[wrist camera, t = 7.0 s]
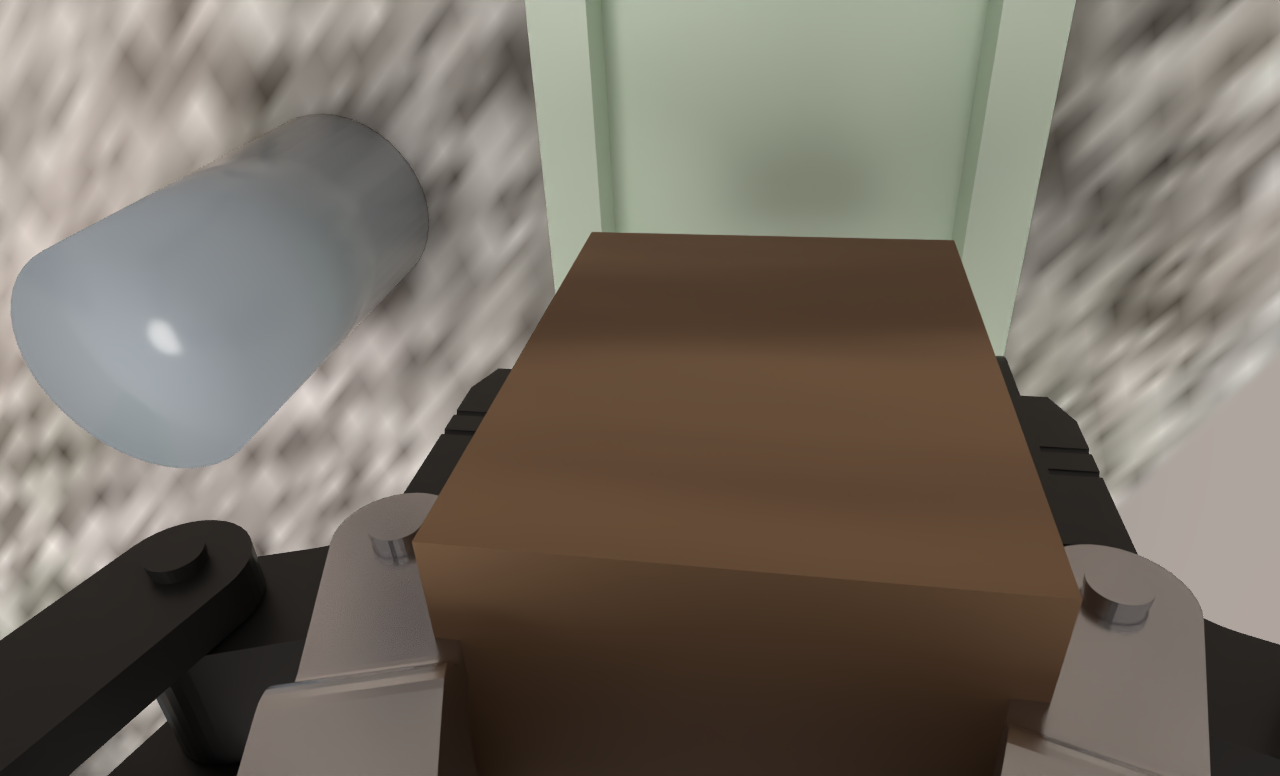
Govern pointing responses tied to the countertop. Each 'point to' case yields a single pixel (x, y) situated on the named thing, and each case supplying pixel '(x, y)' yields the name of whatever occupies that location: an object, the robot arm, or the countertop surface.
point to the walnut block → (750, 521)
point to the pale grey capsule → (220, 290)
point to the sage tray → (801, 123)
